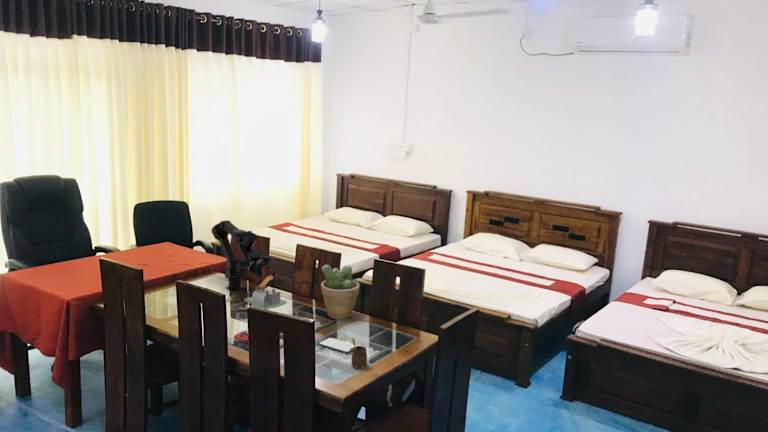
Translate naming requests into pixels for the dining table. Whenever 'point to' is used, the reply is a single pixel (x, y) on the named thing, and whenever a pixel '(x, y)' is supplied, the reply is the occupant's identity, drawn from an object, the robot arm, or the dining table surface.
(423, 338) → the dining table surface
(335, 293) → the potted plant
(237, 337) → the gaming console
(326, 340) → the phone case
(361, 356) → the utensil holder
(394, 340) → the dining table surface
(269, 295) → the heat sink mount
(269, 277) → the orange brown bar
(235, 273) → the robot arm
